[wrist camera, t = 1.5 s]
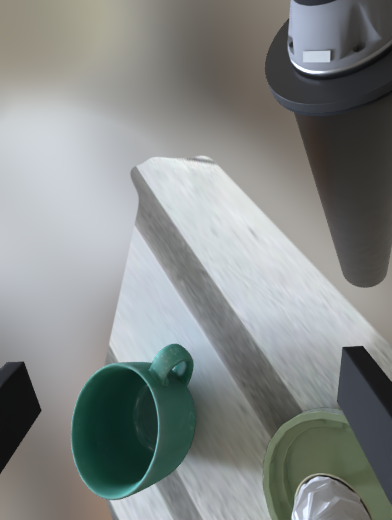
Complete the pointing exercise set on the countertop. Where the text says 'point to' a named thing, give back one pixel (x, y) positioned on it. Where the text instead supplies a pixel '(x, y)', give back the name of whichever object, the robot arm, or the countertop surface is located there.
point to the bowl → (318, 462)
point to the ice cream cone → (328, 500)
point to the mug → (134, 423)
